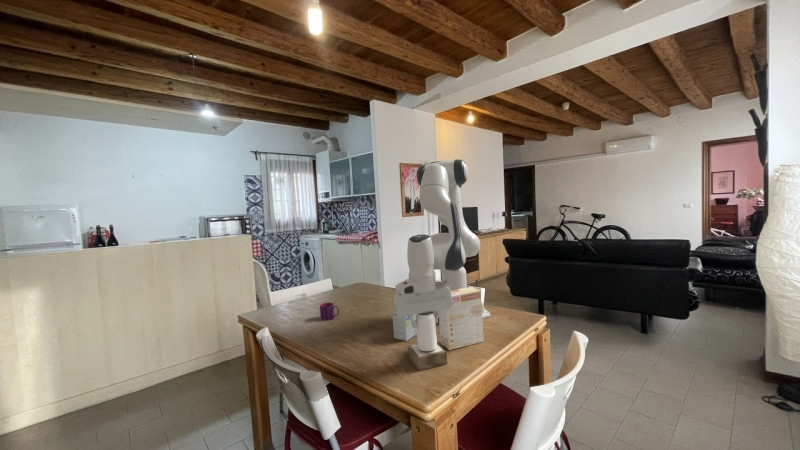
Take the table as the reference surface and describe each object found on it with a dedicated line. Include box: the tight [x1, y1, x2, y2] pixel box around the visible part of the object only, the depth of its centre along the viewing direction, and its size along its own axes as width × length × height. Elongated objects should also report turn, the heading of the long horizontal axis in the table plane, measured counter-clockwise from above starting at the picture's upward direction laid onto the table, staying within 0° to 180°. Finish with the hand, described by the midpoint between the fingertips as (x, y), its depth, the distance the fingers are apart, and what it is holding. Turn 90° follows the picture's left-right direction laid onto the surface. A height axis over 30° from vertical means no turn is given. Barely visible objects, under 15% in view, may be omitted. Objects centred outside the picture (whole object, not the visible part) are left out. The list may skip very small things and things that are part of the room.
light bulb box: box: [391, 311, 417, 342], centre depth 125 cm, size 11×7×11 cm, turn 145°
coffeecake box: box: [438, 286, 485, 351], centre depth 115 cm, size 15×7×20 cm, turn 110°
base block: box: [407, 342, 448, 371], centre depth 103 cm, size 10×10×4 cm
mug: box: [319, 302, 340, 322], centre depth 151 cm, size 7×10×7 cm
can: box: [416, 311, 438, 352], centre depth 103 cm, size 6×6×12 cm
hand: (424, 325), depth 103 cm, fingers closed on can, 6 cm apart
